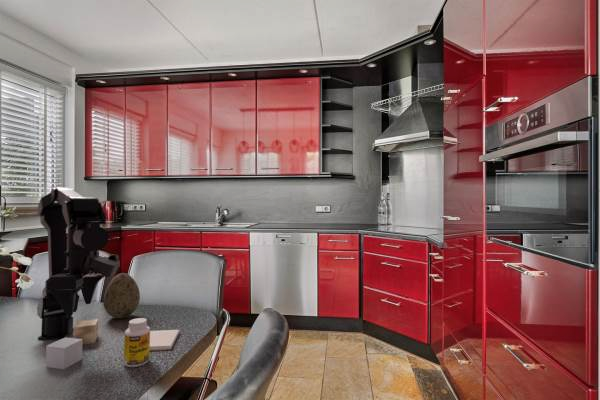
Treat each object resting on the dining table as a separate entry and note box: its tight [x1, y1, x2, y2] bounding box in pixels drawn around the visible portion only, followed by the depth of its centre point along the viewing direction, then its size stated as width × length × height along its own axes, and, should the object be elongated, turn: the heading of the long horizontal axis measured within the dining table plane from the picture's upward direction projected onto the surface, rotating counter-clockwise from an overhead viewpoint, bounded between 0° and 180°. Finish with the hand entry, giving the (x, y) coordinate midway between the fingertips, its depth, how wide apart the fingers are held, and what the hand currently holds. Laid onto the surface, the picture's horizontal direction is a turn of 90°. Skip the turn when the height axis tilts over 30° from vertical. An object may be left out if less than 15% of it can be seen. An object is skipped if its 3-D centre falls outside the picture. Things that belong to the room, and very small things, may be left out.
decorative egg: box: [103, 272, 141, 320], centre depth 109 cm, size 11×11×15 cm
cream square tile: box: [149, 329, 180, 351], centre depth 91 cm, size 11×11×1 cm
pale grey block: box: [45, 336, 83, 370], centre depth 78 cm, size 5×5×5 cm
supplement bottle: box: [123, 317, 151, 368], centre depth 79 cm, size 6×6×10 cm
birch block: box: [72, 318, 99, 345], centre depth 91 cm, size 5×5×5 cm
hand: (79, 309), depth 81 cm, fingers open, 9 cm apart
